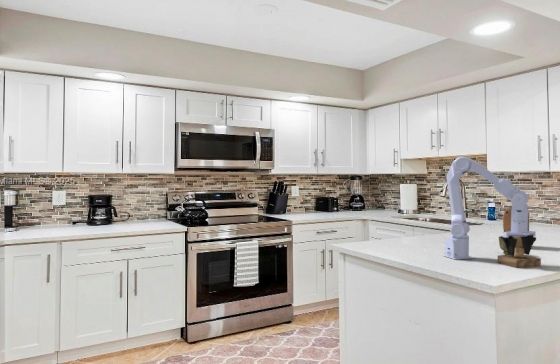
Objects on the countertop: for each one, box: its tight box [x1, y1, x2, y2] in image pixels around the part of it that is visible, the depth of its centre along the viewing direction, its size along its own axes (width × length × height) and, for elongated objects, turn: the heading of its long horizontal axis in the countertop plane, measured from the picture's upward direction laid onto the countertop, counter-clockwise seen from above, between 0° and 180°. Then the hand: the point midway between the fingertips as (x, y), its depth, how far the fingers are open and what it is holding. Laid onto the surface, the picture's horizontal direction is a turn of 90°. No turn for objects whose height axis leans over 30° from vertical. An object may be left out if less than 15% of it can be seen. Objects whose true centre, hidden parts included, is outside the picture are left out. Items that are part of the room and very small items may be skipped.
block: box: [502, 206, 530, 248], centre depth 191 cm, size 11×8×20 cm
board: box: [497, 254, 542, 269], centre depth 152 cm, size 12×9×3 cm
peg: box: [514, 247, 525, 259], centre depth 152 cm, size 4×4×6 cm
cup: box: [498, 235, 518, 255], centre depth 172 cm, size 8×7×8 cm
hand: (518, 254), depth 152 cm, fingers open, 7 cm apart
